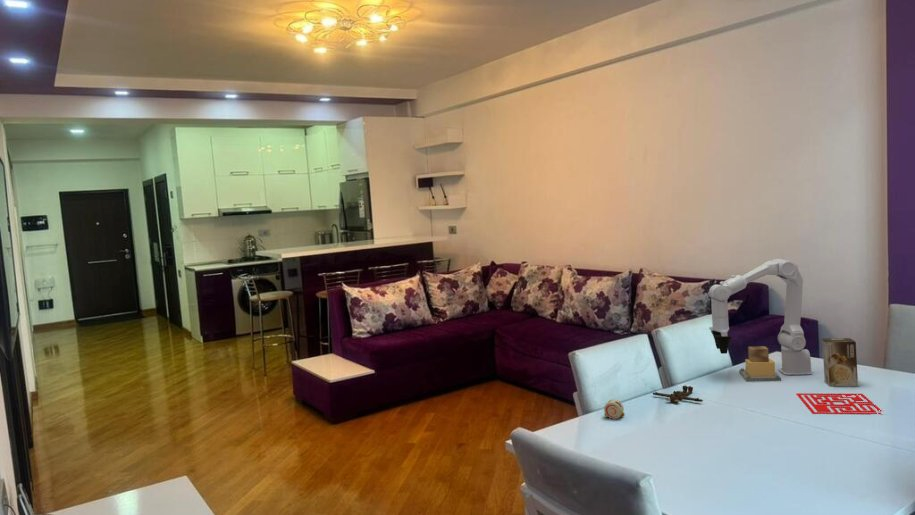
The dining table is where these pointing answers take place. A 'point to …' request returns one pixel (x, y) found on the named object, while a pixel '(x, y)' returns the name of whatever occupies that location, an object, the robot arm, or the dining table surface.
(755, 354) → the walnut block
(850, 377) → the coffee box
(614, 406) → the cinnamon roll
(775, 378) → the base plate
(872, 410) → the maze puzzle
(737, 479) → the dining table surface
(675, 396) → the brown crossed rod frame
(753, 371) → the brick
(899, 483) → the dining table surface
